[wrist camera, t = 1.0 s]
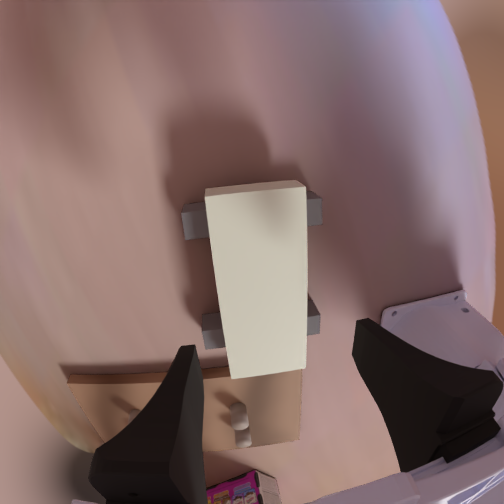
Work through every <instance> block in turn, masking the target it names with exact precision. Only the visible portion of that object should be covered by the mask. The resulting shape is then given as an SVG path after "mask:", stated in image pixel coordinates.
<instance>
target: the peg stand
mask: <svg viewBox="0 0 504 504" xmlns="http://www.w3.org/2000/svg"><path fill="white" fill-rule="evenodd" d="M201 371H202V375H203V384H204V415H203V434H202V449H203V452H210V451H222V450H232V449H241V448H250V447H257V446H264V445H271V444H277V443H283V442H289V441H294V440H299V435H300V416H301V393H302V369H298V370H292V371H286V372H280V373H274V374H267V375H260V376H253V377H246V378H238V379H231V374H230V368H229V366H228V367H219V368H209V369H201ZM166 374H167V372H159V373H140V374H105V375H76V374H71V375H70V377H69V380H68V382H67V384H68V386H69V388H70V390H71V391H72V393H73V395H74V397H75V398H76V400H77V402H78V403H79V405H80V406H81V408H82V410H83V411H84V413H85V414H86V416H87V418H88V419H89V421H90V422H91V424H92V425H93V427H94V428H95V430H96V431H97V433H98V434H99V436H100V437H101V438H102V440H103V441H104V443H106V442H107V441H109V440H110V439H112V438H113V437H114V436H116V435H117V434H118V433H119V432H120V431H121V430H123V429H124V428H125V427H126V426H127V425H128V424H129V423H130V422H131V421H132V420H133V419H134V418H135V417H136V416H137V415H138V414H139V413H140V412H141V410H142V409H143V408H144V407H145V406H146V404H147V403H148V402H149V400H150V399H151V398H152V396H153V395H154V394H155V392H156V390H157V389H158V387H159V386H160V384H161V383H162V381H163V379H164V378H165V376H166Z"/></svg>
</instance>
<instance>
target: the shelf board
mask: <svg viewBox="0 0 504 504" xmlns="http://www.w3.org/2000/svg"><path fill="white" fill-rule="evenodd" d="M205 204H206V212H207V220H208V228H209V236H210V243H211V251H212V258H213V265H214V272H215V279H216V286H217V293H218V300H219V306H220V313H221V319H222V326H223V332H224V338H225V345H226V351H227V357H228V363H229V368H230V374H231V379H238V378H246V377H253V376H260V375H267V374H274V373H280V372H286V371H292V370H298V369H304V368H306V347H307V286H308V265H307V204H306V186H304V185H303V184H301V183H300V182H298V181H297V180H287V181H275V182H263V183H253V184H243V185H233V186H224V187H215V188H207V189H205Z"/></svg>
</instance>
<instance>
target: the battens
mask: <svg viewBox="0 0 504 504" xmlns="http://www.w3.org/2000/svg"><path fill="white" fill-rule="evenodd" d="M306 204H307V226H314V225H322V198H321V197H319V196H318V195H317V194H315V193H314V192H312V191H307V192H306ZM181 215H182V222H183V229H184V235H185V240H190V239H198V238H207V237H210V236H209V228H208V220H207V212H206V204H205V202H199V203H191V204H184V206H183V209H182V212H181ZM319 333H320V313H319V311H318V309H317V308H316V306H315V304H314V302H313V300H309V301H307V336H308V335H313V334H319ZM202 334H203V339H204V344H205V349H214V348H223V347H226V345H225V338H224V332H223V326H222V319H221V313H211V314H202Z"/></svg>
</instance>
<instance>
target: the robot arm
mask: <svg viewBox="0 0 504 504" xmlns="http://www.w3.org/2000/svg"><path fill="white" fill-rule="evenodd" d="M466 296H467V292H466V291H465V290H460V291H456V292H452V293H448V294H444V295H440V296H436V297H432V298H428V299H424V300H420V301H415V302H411V303H407V304H402V305H398V306H393V307H388V308H386V309H385V310H384V311H383V313H382V319H381V325H379V324H377V323H376V322H374V321H372V320H371V319H369V318H366V319H362V320H357V321H356V328H355V336H354V343H353V350H352V356H353V358H354V361H355V364H356V366H357V369H358V371H359V373H360V375H361V377H362V379H363V380H364V382H365V384H366V386H367V388H368V389H369V391H370V393H371V395H372V396H373V398H374V400H375V402H376V404H377V405H378V407H379V409H380V411H381V413H382V416H383V418H384V421H385V423H386V426H387V428H388V431H389V434H390V437H391V440H392V443H393V446H394V449H395V452H396V456H397V459H398V463H399V467H400V471H401V473H397V474H393V475H390V476H388V477H385V478H382V479H379V480H376V481H373V482H370V483H367V484H364V485H361V486H358V487H354V488H351V489H347V490H344V491H340V492H336V493H333V494H330V495H327V496H324V497H321V498H319V499H317V500H315V501H313V502H310V503H305V504H504V336H503V335H502V334H501V332H500V331H499V330H498V329H497V328H495V327H494V326H493V325H492V324H491V323H490V322H489V321H488V320H487V319H486V318H485V317H483V316H482V315H481V314H480V313H479V312H478V311H477V310H476V309H474V308H473V307H472V306H471V305H470V304H469V303H468V302H466V301H465V300H466ZM394 311H395V312H394ZM393 312H394V313H393ZM392 313H393V314H392ZM203 415H204V384H203V375H202V371H201V367H200V363H199V359H198V355H197V351H196V346H195V345H186V346H181V347H180V348H179V350H178V352H177V355H176V357H175V359H174V361H173V363H172V365H171V367H170V369H169V371H168V372H167V374H166V376H165V378H164V379H163V381H162V383H161V384H160V386H159V387H158V389H157V390H156V392H155V394H154V395H153V396H152V398H151V399H150V400H149V402H148V403H147V404H146V406H145V407H144V408H143V409H142V410H141V412H140V413H139V414H138V415H137V416H136V417H135V418H134V419H133V420H132V421H131V422H130V423H129V424H128V425H127V426H126V427H125V428H124V429H123V430H121V431H120V432H119V433H118V434H117V435H116V436H114V437H113V438H112V439H110V440H109V441H107V442H106V443H104V444H103V445H102V446H100V447H99V448H97V449H96V451H95V454H94V456H93V459H92V462H91V467H90V472H89V477H88V478H89V482H90V483H91V484H92V486H93V487H94V488H95V489H96V490H97V491H98V492H99V493H100V494H101V495H102V496H104V497H105V499H106V504H208V499H207V491H206V483H205V473H204V462H203V449H202V434H203ZM72 504H97V503H92V502H86V501H80V500H72Z"/></svg>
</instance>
